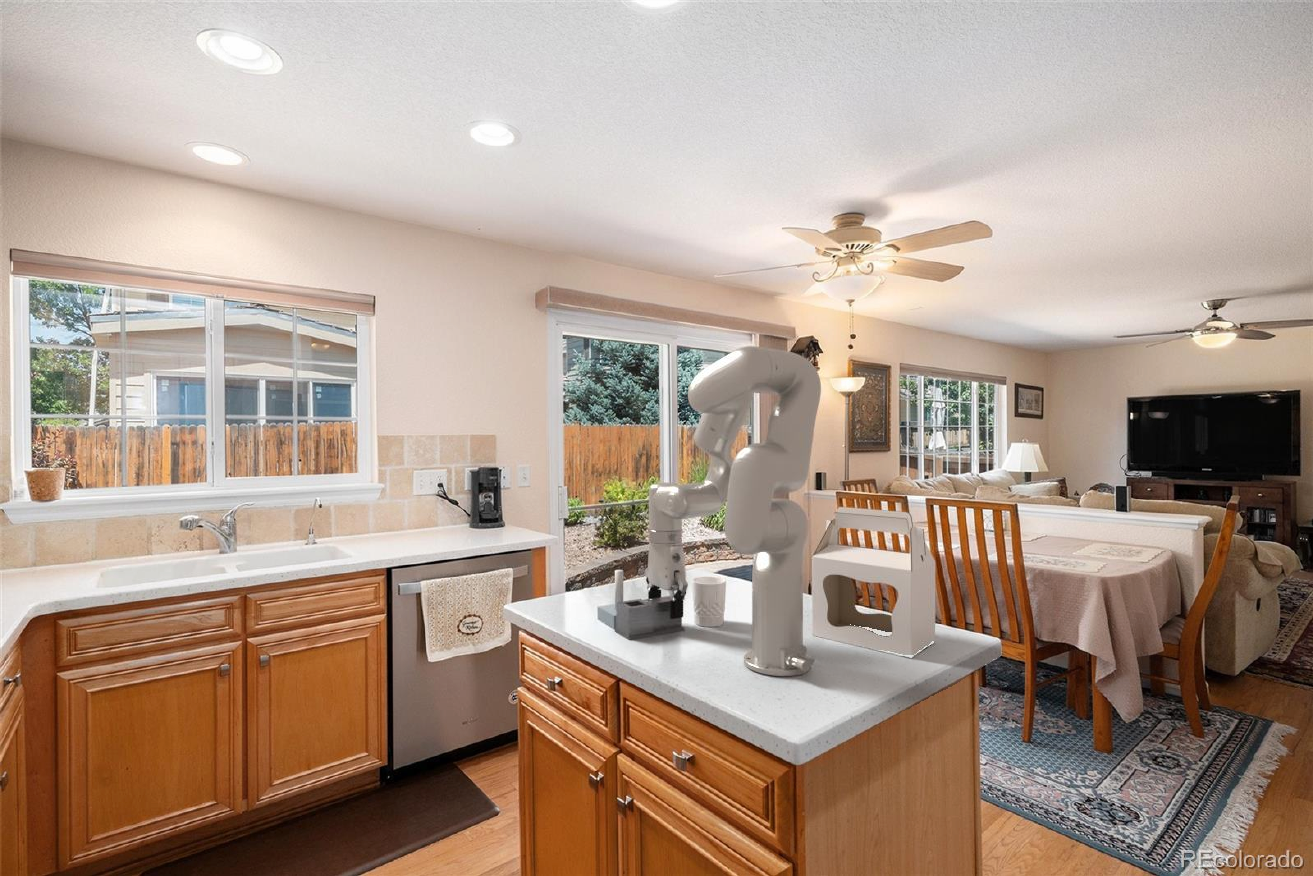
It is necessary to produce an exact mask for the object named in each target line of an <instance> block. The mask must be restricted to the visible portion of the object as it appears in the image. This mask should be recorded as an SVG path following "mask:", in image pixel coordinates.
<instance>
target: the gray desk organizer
mask: <svg viewBox="0 0 1313 876" xmlns="http://www.w3.org/2000/svg"><path fill="white" fill-rule="evenodd" d="M670 600H672V599H671V597H670V595H667V596H661V597H659V598H652V599H648V598H646V599H641V598H637V599H631V600H623V601H622V602H616V629H617V630H619V631H620V632H622V633H624V634H625V635H627V636H635V635H641V634H647V633H652V632H653V631H655V630H660V629H666V628H672V627H678V626H682V627H683V617H682V618H676V619H671V618H670Z"/></svg>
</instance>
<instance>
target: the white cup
mask: <svg viewBox="0 0 1313 876" xmlns="http://www.w3.org/2000/svg"><path fill="white" fill-rule="evenodd" d="M691 583H692V602H693V603H692V604H693V612H694V613H693V617H694V619H693V620H694V623H695V625H697V626H700V627H706V628H714V627H715V628H716V627H720V626H722V625H723V624H724V622H725V609H726V607H725V606H726V596H727V595H726V592H727V590H726V589H727V580H726V579H725V578H722V577H719V576H718V577H717V576H698V577H695V578H693V579H692V580H691Z"/></svg>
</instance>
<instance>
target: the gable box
mask: <svg viewBox="0 0 1313 876" xmlns="http://www.w3.org/2000/svg"><path fill="white" fill-rule="evenodd" d="M834 517H835V518H834V519H826V520H825V521H826V523H825V524H826V525H825V531H824V533H823V536H822V537H821V539H820V541H819V543H818V545H817V547H816V549H815V551H814V553H813V555H812V556H811V559H812V561H811V577H812V578H811V579H812V580H811V581H812V583H811V594H812V595H811V602H812V604H811V634H812V636H813V637H818V638H821V639H826V640H831V641H834V642H839V643H842V642H843V643H842V644H846V643H847V644H846V645H850V644H852V645H851V646H855V645H856V647H859V646H864V647H868V648H872V649H876V650H884V651H890V652H894V653H898V654H903V655H914V654H916V653H917V652H918V651H919V650H922V649H923V648H924V647H925V646H928V645H929V644H930V643H931V642H932V641H935V642H936V560H935V558H934V557H933V554H932V552H931V551H930V548H929V547H928V545H927V543H926V541H925V540H926V539H925V529H924V528H918V527H916V526H914V524H913V518H912V515H911V513H910V512H909V511H899V510H898V511H897V510H885V509H876V508H875V509H873V508H859V507H851V506H850V507H848V506H839V507H838V508H837V510H836V511H834ZM841 528H842V529H851V530H852V529H853V530H862V531H870V532H882V533H889V534H890V533H891V534H900V535H902V536H904V535H905V536H907V538H908V541H909V552H904V551H896V550H888V549H880V548H872V547H871V548H870V547H865V546H864V547H863V546H857V545H847V544H841V541H840V540H841V536H840V535H841V534H840V529H841ZM853 580H856V581H858V582H859V581H860V582H863V583H869V584H870V583H872V584H873V583H874V584H876V583H877V584H885V585H889V586H891V587H893V588H894V589H895V590H896V592H897V596H898V597H897V600H896V603H895V605H894V607H893V609H892V613H891V614H886V613H864V612H860V611H858V609H857V607H856V600H857V591H856V587H855V585H854V582H853ZM850 624H851V625H850ZM854 625H855V626H854ZM859 626H861V627H859ZM862 627H869V628H872V629H877V630H881V631H885V632H892V634H891V635H890V636H882V635H878V634H876V633H874V632H873V631H870V630H867V629H865V628H862ZM872 649H871V650H872ZM876 650H875V651H876Z"/></svg>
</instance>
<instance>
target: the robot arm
mask: <svg viewBox="0 0 1313 876" xmlns="http://www.w3.org/2000/svg"><path fill="white" fill-rule="evenodd" d="M821 383H822V382H821V377H820V375H819V372H818V370H817V369H816V367H815V366H814V365H813V363H811V361H810V360H808V359H807V358H806V357H804V356H803V355H801V354H798V353H795V352H792V351H788V350H784V349H783V350H781V349H776V348H768V347H761V346H753V345H752V346H751V345H750V346H749V345H747V346H742V347H740V348H737V349H735V350H734V351H731V352H729V353H728V354H726V355H725V356H723V357H722V358H720V359H718V360H716V361H715V362H713V363H711V364H710V365H708V366H706V367H705V368H704V369H702V370H701V371H699V372H697V374H696V375H695V376H694V378H692V380H691V382H690V384H689V386H688V390H687V399H688V403H689V405H690V406H691V408H692V409H693V410H694V411H695V412H698V413H700V414H701V416H700V418H699V421H698V424H697V426H696V429H695V431H694V434H693V438H692V439H693V442H694V444H695V445H696V447H697V448H699V449H700V450H701V451H703V452H704V453H706V454H708V455H709V457H710V464H709V468H708V472H707V474H706V475H705V479H704V481H703V482H692V483H681V484H680V483H679V484H678V483H676V482H655V483H652V484H650V486H649V489H648V545H649V546H648V557H647V567H646V568H645V570H644V574H645V581H646V584H647V586H646V589H647V591H648V592H647V597H648V598H647V599H652V598H659V597H662V590H665V591H668V593H669V596H670V597H671V599H672V600H670V618H671V619H676V618H682V619H683V618H684V600H685V599H686V598H685V596H686V595H687V590H688V586H689V584H688V582H687V576H686V572H687V571H686V569H687V568H686V560H685V558H686V557H685V552H684V547H683V544H682V543H683V520H688V519H694V518H700V517H710V516H714V515H716V514H717V513H718V512H719V511H721V509H722V508H723V506H724V505H725V510H724V511H725V513H724V521H723V526H724V529H723V530H724V534H725V538H726V542H727V543H728V544H729V546H730V547H731V548H732V549H733V551H735V552H737V553H739V554H741V555H747V556H748V555H750V556H751V555H755V558H754V561H753V566H752V574H751V575H752V576H751V578H752V582H751V584H752V585H751V589H752V590H751V591H752V592H751V607H752V608H751V613H752V614H751V650H750V651H748V652H746V653H745V654H744V655H743V663H744V665H745V666H746V667H747V669H750V670H751V671H753V672H755V673H759V674H763V675H767V676H772V677H773V676H776V677H792V676H794V677H795V676H799V675H803V674H805V673H807V672H809V671H810V670H811V668H812V666H813V665H814V664H815V662H816V661H815V658H814V657H812V656H810V655H807V645H806V644H805V645H804V593H803V592H804V563H805V562H804V560H805V552H806V545H807V539H808V535H809V521H808V517H807V514H806V512H805V510H804V509H803V507H802V506H801V505H800V504H799V503H797V502H796V501H793V500H792V499H789V498H778V497H777V498H774V495H780V494H781V495H783V494H789V493H794V492H797V491H799V490H800V489H802V487H804V485H806V482H807V479H808V475H809V470H810V463H811V456H812V449H813V441H814V435H815V434H814V433H815V426H816V425H815V424H816V419H817V415H818V414H817V413H818V411H819V410H818V409H819V405H820V402H821V401H820V400H821V393H822V384H821ZM754 394H765V395H766V394H768V395H770V394H771V395H776V396H778V400H777V402H776V403H775V405H774V406H773V408H772V410H771V412H770V414H769V418H768V422H767V424H768V425H767V431H766V432H767V433H766V437H765V441H764V442H756V443H751V444H748V445H746V446H744V447H743V448H741V449H740V450H739V451H738V453H737V454H736V455H735V457H734V459H733V455H732V450H733V447H734V445H735V443H736V440H737V438H738V435H739V433H740V431H741V428H742V426H743V424H744V421H745V419H746V416H747V414H748V411H749V409H750V407H751V404H752V402H753V399H754ZM675 591H676V592H675Z"/></svg>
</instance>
